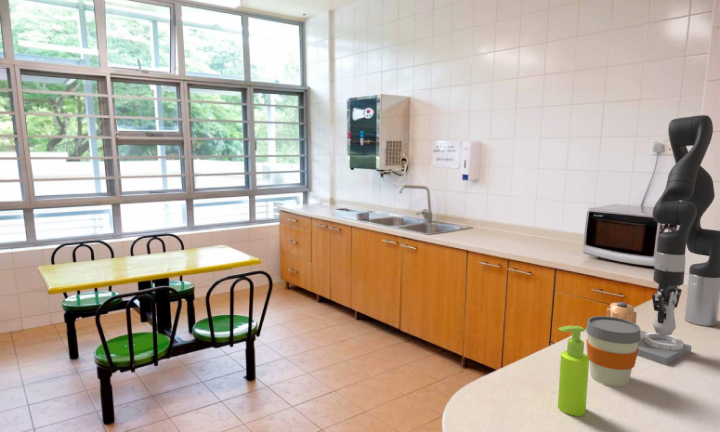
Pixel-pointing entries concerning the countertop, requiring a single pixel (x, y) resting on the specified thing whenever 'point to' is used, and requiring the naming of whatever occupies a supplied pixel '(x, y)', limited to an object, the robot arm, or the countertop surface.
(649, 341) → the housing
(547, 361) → the countertop surface
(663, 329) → the salt shaker
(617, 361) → the reusable coffee cup
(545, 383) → the countertop surface
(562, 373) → the soap dispenser
